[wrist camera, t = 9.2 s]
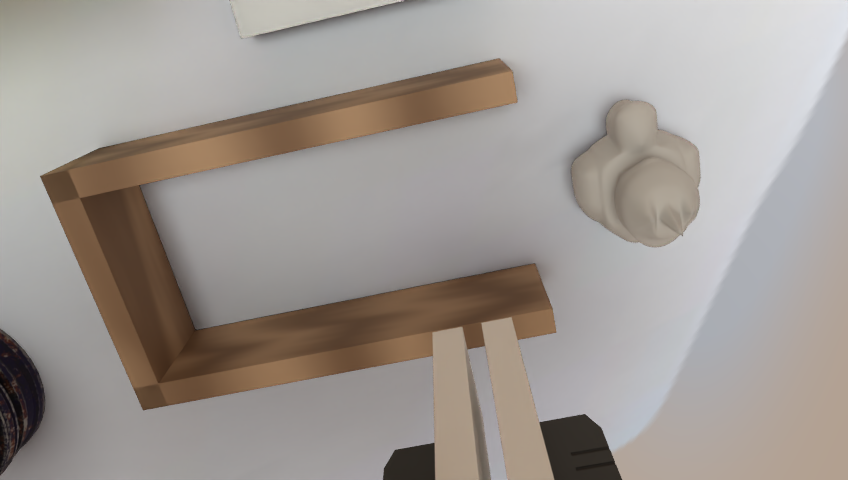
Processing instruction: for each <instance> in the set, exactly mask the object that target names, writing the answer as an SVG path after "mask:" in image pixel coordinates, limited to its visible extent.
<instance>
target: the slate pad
mask: <svg viewBox="0 0 848 480" xmlns="http://www.w3.org/2000/svg"><path fill="white" fill-rule="evenodd" d="M229 1H230V4H231V7H232V11H233V14H234V17H235V20H236V24H237V27H238V30H239V34H240V37H241V39H243V38H247V37H251V36H255V35H260V34H264V33H268V32H272V31H277V30H281V29H285V28H289V27H294V26H298V25H302V24H306V23H311V22H315V21H319V20H323V19H328V18H332V17H336V16H340V15H345V14H349V13H353V12H357V11H362V10H366V9H370V8H374V7H379V6H383V5H387V4H391V3H396V2H400V1H404V0H229Z"/></svg>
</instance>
